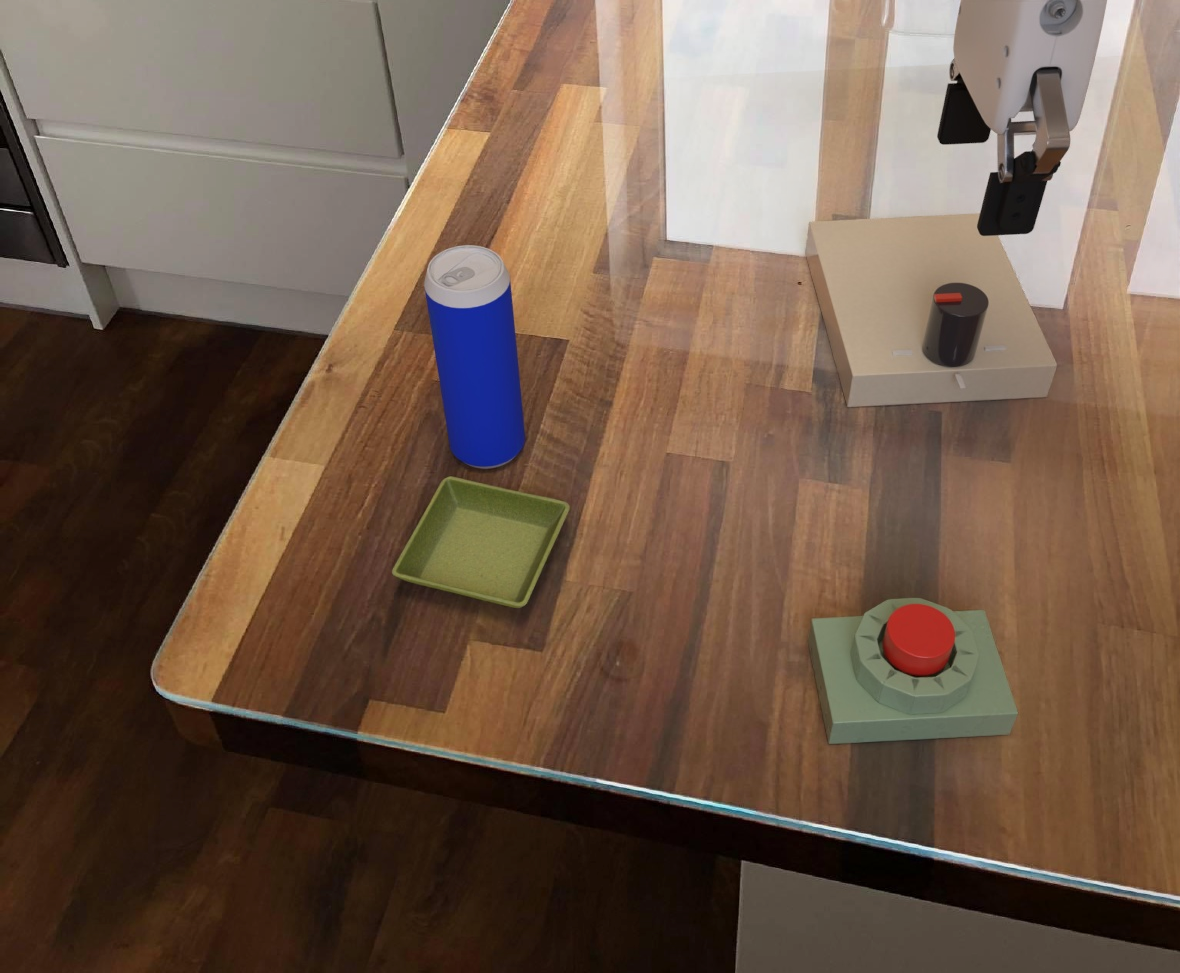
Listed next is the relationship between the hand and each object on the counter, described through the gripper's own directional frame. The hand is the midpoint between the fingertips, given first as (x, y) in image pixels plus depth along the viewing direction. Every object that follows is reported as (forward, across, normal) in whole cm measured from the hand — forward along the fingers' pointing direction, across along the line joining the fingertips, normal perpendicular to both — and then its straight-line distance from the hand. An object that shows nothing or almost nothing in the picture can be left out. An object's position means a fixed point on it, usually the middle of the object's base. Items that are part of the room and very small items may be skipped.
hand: (982, 184), depth 75 cm
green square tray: (+16, -14, +32) cm, 38 cm away
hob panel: (+16, +6, 0) cm, 17 cm away
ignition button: (+12, -25, +8) cm, 29 cm away
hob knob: (+13, 0, 0) cm, 13 cm away
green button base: (+16, -25, +8) cm, 31 cm away
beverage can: (+16, -4, +32) cm, 36 cm away
